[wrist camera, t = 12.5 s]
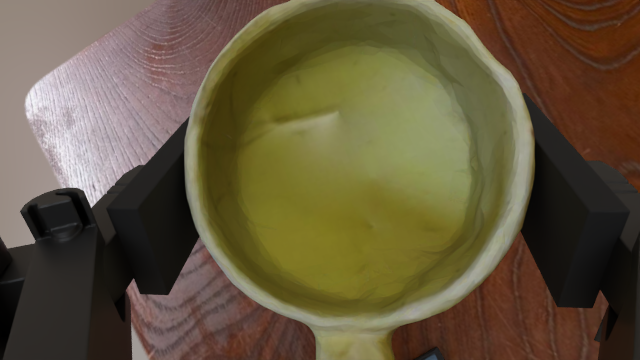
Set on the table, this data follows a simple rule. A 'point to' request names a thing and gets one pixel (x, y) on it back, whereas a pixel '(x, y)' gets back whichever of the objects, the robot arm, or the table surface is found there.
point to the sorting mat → (431, 355)
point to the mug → (358, 166)
